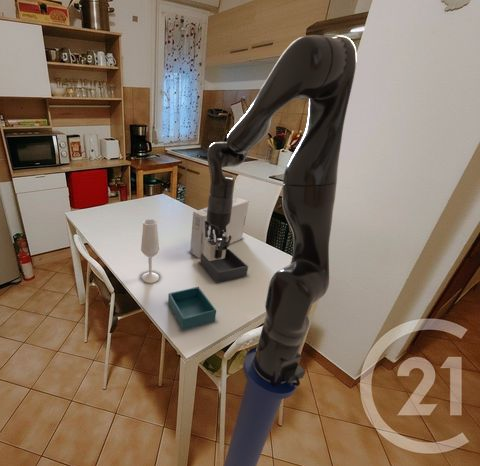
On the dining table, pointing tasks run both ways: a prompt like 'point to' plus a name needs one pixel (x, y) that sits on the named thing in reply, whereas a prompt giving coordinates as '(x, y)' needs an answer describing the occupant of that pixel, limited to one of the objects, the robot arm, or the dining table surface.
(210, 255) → the white box with panel
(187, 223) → the dining table surface
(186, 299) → the near tote
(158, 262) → the dining table surface
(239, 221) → the packaging
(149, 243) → the champagne flute
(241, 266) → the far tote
